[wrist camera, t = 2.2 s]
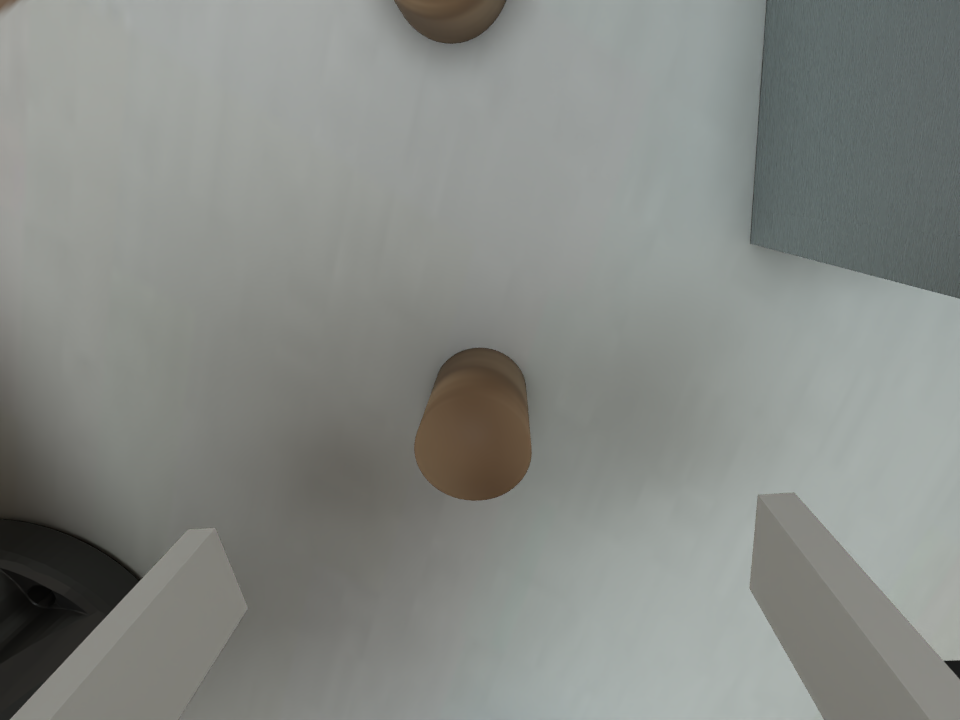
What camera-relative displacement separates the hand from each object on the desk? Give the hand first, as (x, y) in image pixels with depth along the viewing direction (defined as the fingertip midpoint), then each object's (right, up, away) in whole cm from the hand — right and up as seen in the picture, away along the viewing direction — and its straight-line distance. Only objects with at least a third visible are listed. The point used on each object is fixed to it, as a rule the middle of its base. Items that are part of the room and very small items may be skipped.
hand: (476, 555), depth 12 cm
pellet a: (0, +4, +9) cm, 10 cm away
